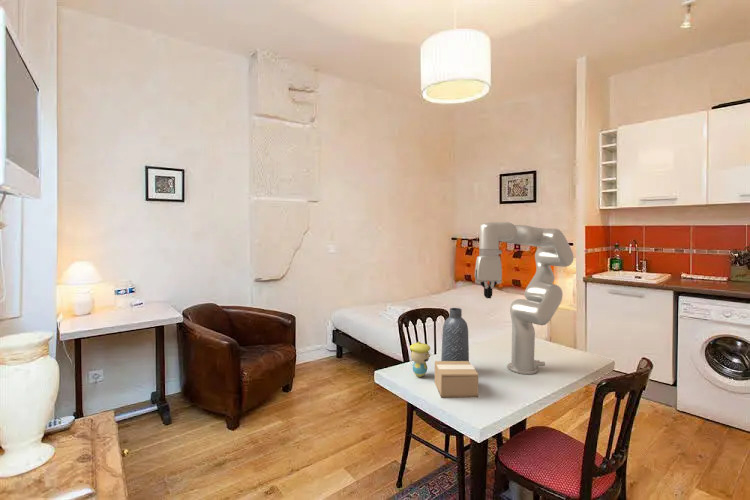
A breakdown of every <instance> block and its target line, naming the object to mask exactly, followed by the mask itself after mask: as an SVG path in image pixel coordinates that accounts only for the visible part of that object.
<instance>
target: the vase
mask: <svg viewBox="0 0 750 500" xmlns="http://www.w3.org/2000/svg"><path fill="white" fill-rule="evenodd" d="M462 311H463V310H462V308H460V307H451V308H449V316H448V317H447V318H446V319H445V321H444V323H443V325H442V334H441V335H442V337H441V339H442V340H441V355H440V356H441V360H440V361H469V362H470V353H469V351H470V348H469V328H468V323H467V322H466V320H465V319H464V318H463V317H462V315H463V313H462Z"/></svg>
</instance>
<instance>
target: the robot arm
mask: <svg viewBox="0 0 750 500" xmlns="http://www.w3.org/2000/svg"><path fill="white" fill-rule="evenodd" d="M500 242H502V243H510V244H513V245H514V244H515V245H523V246H530V247H535V248H537V249H536V250H535V254H534V260H535V267H536V270H535V274H534V275H533V277H532V279H531V280H530V281H529V283H528V285H527V286H526V288H525V290H524V294H523V295H524V297H525V299H523V298H517V299H515V300H513V301H512V302H511V304H510V307H509V312H510V314H509V315H510V318H511V362H509V363H508V364H507V369H508V370H509V371H511V372H514V373H515V374H516V373H517V374H519V375H520V374H521V375H533V374H534V375H535V374H536V373H538V371H539V368H538V367H545V366H546V362H545V361H540V360H539V359H536V360H535V345H536V344H535V343H536V342H535V340H536V338H535V337H536V331H535V327H534V325H538V326H545V325H547V324H549V323H550V321H551V320H552V318H553V316H554V315H555V313H556V312H557V310H558V309H559V306H560V305H561V303H562V300H563V296H564V295H563V290H562V288H561V287H560V286H559V285H557V284H555V283H554V281H555V279H556V278H555V273H554V271H553V269H552V266H553V267H562V268H565V267H569V266H571V265H572V263H573V261H574V252H573V250H572V248H571V245H570V244H569V241H568V240H567V238H566V236H565V235H564V233H563V232H562V231H561V230H560V229H558V228H545V227H544V228H542V227H537V226H536V227H535V226H531V225H525V224H524V225H523V224H514V223H511V222H509V221H508V222H507V221H506V222H505V221H502V222H501V221H500V222H499V221H497V222H496V221H495V222H493V221H491V222H483V223H480V225H479V245H478V247H479V248H478V250H479V252H478V253H479V254H478V256H476V261H475V267H474V278H475V280H474V283H475V284H477V285H480V286H482V288H483V296H484V298H486V299H492V297H493V289H494V288H495V286H496V285H500V284H502V283H503V281H502V278H503V270H502V269H503V267H502V261H501V256H500V255H501V254H502V253H503V251H502V249H500V248H499V245H500Z"/></svg>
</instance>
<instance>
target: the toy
mask: <svg viewBox="0 0 750 500" xmlns="http://www.w3.org/2000/svg"><path fill="white" fill-rule="evenodd" d="M409 349H410V351H411V353H410V357H411V359H412V361H413V363H412V371H413V373H414V375H415V376H416V377H424V376H425V374H426V373H427V372H428V365H427V362H428V361H429V359H430V357H431V354H430V353H429V352H430V350H431V347H430V345H429V344H427V343H423V342H421V341H417V342H414V343H412V344H411V345H410V346H409Z"/></svg>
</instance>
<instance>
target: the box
mask: <svg viewBox="0 0 750 500" xmlns="http://www.w3.org/2000/svg"><path fill="white" fill-rule="evenodd" d="M434 384H435V387H436V389H437V391H438V394H439V395H440V398H441V399H442V398H443V399H449V398H451V399H452V398H455V399H458V398H463V399H464V398H478V397H479V375H478V376H441V375H440V373H439V371H438V369H437V367H436V365H435V364H434Z"/></svg>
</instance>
